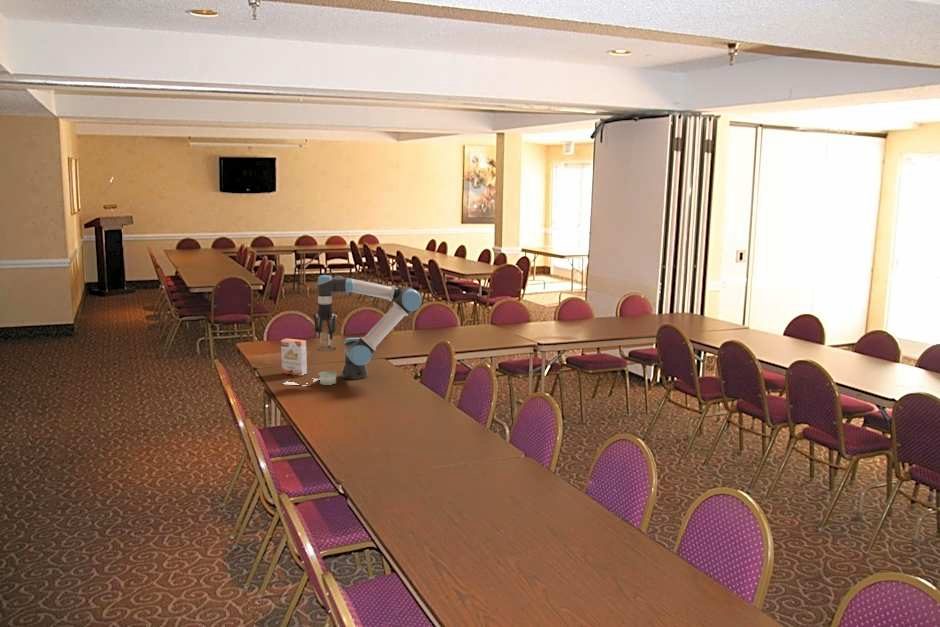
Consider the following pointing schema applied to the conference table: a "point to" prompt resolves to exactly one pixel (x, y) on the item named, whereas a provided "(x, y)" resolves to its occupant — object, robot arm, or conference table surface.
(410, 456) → the conference table surface
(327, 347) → the lid
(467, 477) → the conference table surface
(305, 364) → the cracker box
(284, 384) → the mat
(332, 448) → the conference table surface
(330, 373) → the bowl
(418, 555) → the conference table surface
